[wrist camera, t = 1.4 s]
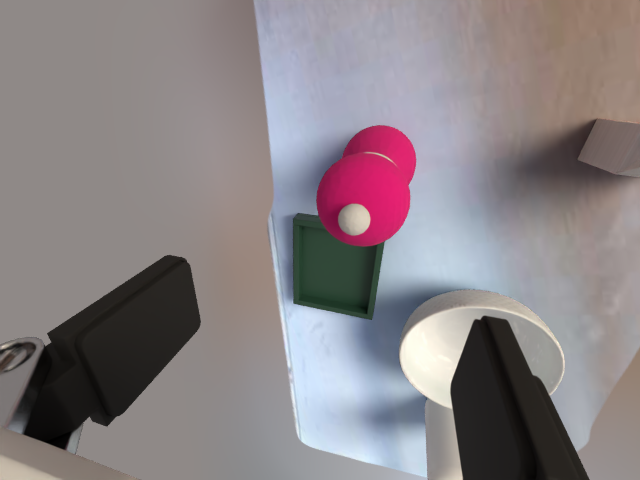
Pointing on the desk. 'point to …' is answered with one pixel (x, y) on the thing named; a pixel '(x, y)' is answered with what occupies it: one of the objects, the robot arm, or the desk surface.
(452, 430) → the pill bottle
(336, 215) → the pepper mill
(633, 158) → the printed tea carton
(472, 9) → the desk surface
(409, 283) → the desk surface
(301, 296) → the tray
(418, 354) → the cereal bowl
